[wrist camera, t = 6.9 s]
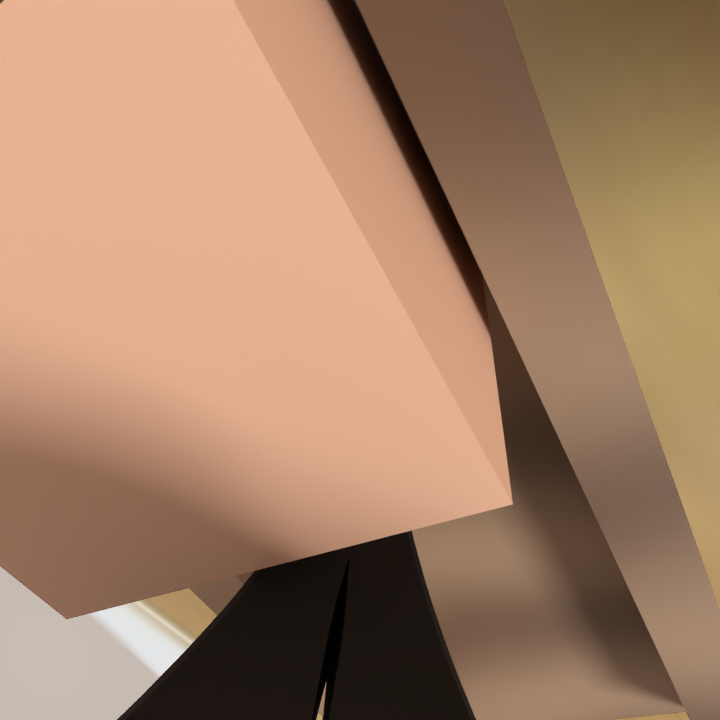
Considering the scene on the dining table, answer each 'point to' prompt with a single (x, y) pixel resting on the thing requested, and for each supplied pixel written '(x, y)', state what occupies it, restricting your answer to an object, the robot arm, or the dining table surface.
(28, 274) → the block
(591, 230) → the dining table surface
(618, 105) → the dining table surface
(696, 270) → the dining table surface
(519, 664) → the shallow wooden tray
